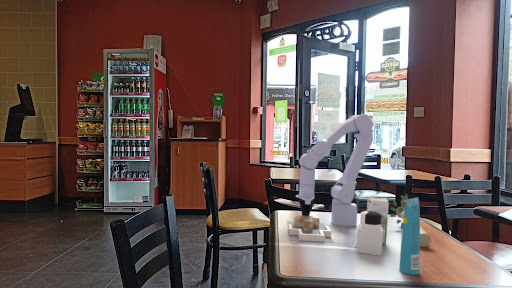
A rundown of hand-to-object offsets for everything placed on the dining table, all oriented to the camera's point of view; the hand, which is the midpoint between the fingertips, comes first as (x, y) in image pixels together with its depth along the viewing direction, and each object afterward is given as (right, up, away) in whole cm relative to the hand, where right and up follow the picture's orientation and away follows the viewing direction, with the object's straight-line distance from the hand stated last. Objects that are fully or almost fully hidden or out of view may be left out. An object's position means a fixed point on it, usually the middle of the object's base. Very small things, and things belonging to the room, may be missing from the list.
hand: (305, 219), depth 140 cm
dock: (-1, -2, -18) cm, 18 cm away
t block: (0, -1, -8) cm, 8 cm away
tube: (+21, -4, -46) cm, 50 cm away
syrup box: (+21, -4, -19) cm, 28 cm away
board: (-1, -2, -12) cm, 12 cm away
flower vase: (+38, -4, -6) cm, 38 cm away
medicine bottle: (+15, -4, -29) cm, 33 cm away
